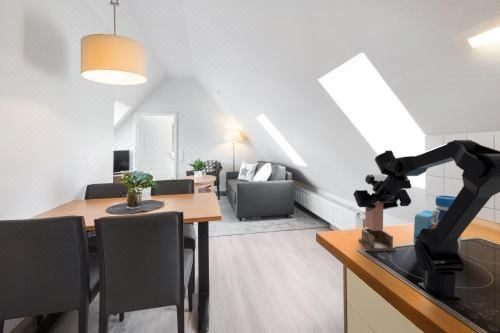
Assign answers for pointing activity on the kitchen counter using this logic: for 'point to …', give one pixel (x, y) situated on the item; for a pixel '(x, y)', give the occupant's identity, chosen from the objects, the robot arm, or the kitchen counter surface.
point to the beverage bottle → (443, 212)
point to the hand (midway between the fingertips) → (372, 209)
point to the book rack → (377, 240)
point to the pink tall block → (374, 217)
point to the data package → (422, 222)
